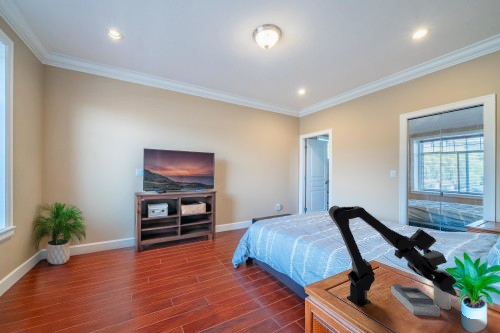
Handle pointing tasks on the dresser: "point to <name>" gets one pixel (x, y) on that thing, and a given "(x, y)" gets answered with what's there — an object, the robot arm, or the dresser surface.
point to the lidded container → (441, 295)
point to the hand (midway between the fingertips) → (445, 288)
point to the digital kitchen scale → (415, 300)
